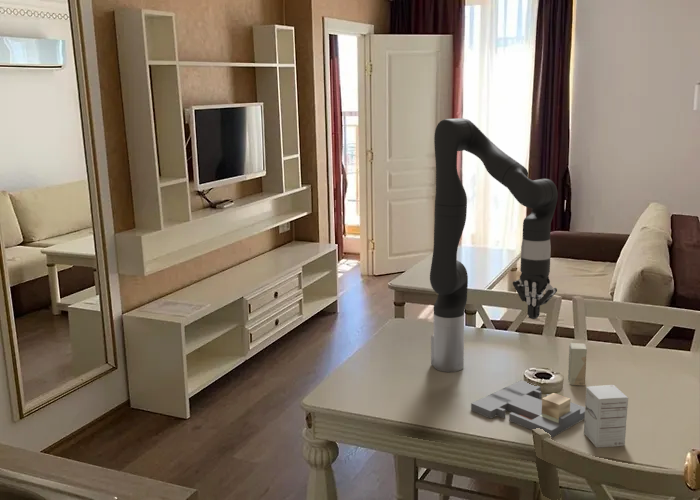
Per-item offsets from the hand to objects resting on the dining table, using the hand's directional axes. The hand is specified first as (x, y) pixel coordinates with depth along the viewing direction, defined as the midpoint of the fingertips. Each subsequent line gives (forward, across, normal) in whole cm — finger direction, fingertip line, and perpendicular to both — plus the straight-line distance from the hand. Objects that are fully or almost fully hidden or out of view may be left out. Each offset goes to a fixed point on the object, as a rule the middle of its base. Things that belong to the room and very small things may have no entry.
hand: (533, 318), depth 186 cm
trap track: (+23, -6, +7) cm, 25 cm away
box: (+23, -3, -18) cm, 30 cm away
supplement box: (+23, -26, +7) cm, 36 cm away
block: (+21, -12, +7) cm, 25 cm away
